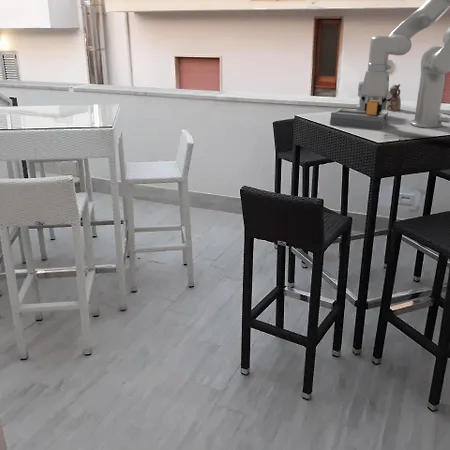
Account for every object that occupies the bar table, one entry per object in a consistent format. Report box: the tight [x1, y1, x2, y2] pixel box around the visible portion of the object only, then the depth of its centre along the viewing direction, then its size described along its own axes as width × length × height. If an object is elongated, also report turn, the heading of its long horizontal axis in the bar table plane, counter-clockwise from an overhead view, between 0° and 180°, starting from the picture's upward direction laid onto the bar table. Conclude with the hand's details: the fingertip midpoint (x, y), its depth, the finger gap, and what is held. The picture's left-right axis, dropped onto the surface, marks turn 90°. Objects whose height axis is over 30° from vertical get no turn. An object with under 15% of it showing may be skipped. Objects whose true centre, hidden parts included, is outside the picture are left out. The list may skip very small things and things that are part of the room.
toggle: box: [366, 100, 379, 115], centre depth 207 cm, size 4×6×7 cm, turn 151°
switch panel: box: [329, 107, 389, 130], centre depth 211 cm, size 22×11×5 cm, turn 61°
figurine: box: [385, 83, 402, 112], centre depth 238 cm, size 7×7×12 cm
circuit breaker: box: [355, 81, 390, 111], centre depth 225 cm, size 8×14×15 cm, turn 78°
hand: (372, 112), depth 208 cm, fingers closed on toggle, 4 cm apart
